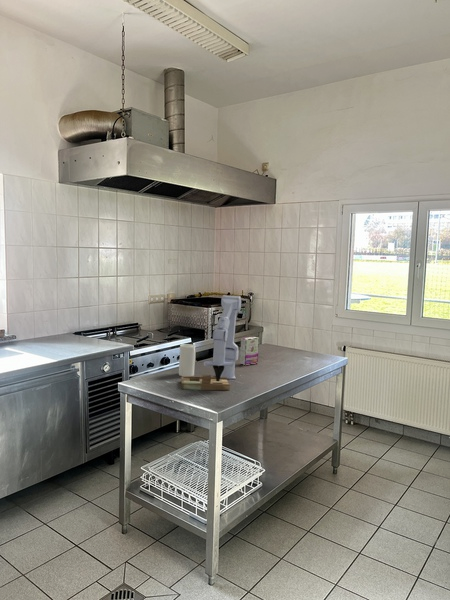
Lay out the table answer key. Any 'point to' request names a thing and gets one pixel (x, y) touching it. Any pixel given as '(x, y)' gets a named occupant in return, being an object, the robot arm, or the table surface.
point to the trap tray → (197, 384)
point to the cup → (187, 360)
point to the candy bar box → (249, 350)
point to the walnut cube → (206, 379)
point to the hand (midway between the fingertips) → (217, 380)
